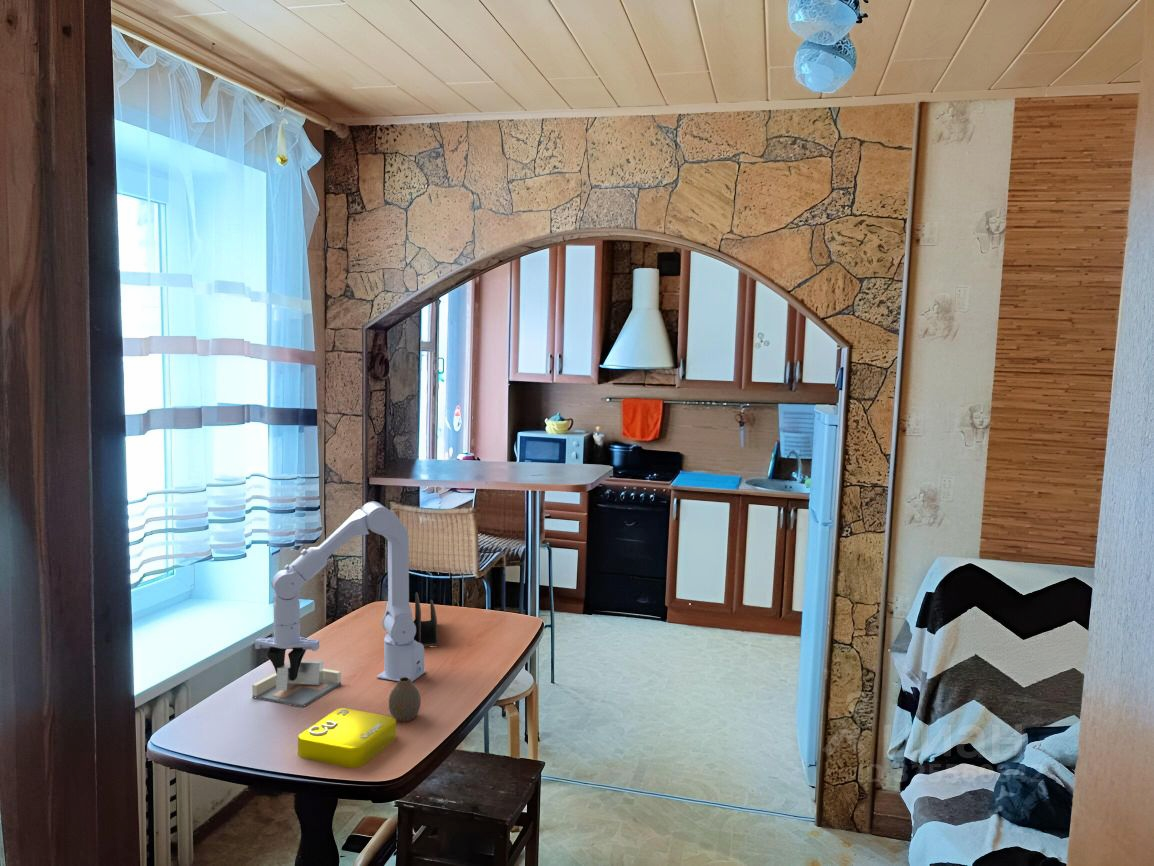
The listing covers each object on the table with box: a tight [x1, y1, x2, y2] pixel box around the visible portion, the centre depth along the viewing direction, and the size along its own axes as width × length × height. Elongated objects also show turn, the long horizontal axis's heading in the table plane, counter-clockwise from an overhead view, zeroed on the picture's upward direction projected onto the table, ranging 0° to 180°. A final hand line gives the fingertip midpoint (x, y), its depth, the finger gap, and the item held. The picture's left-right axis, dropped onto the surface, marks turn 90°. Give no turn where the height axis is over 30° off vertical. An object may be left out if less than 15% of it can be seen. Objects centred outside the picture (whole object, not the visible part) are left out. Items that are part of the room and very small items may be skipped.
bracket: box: [276, 659, 324, 690], centre depth 182 cm, size 9×8×5 cm
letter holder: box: [413, 591, 439, 648], centre depth 221 cm, size 10×20×14 cm, turn 15°
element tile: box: [297, 707, 397, 769], centre depth 157 cm, size 15×15×5 cm
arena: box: [251, 668, 342, 708], centre depth 183 cm, size 14×14×3 cm
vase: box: [388, 677, 422, 722], centre depth 170 cm, size 7×7×9 cm
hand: (287, 678), depth 181 cm, fingers closed on bracket, 2 cm apart
